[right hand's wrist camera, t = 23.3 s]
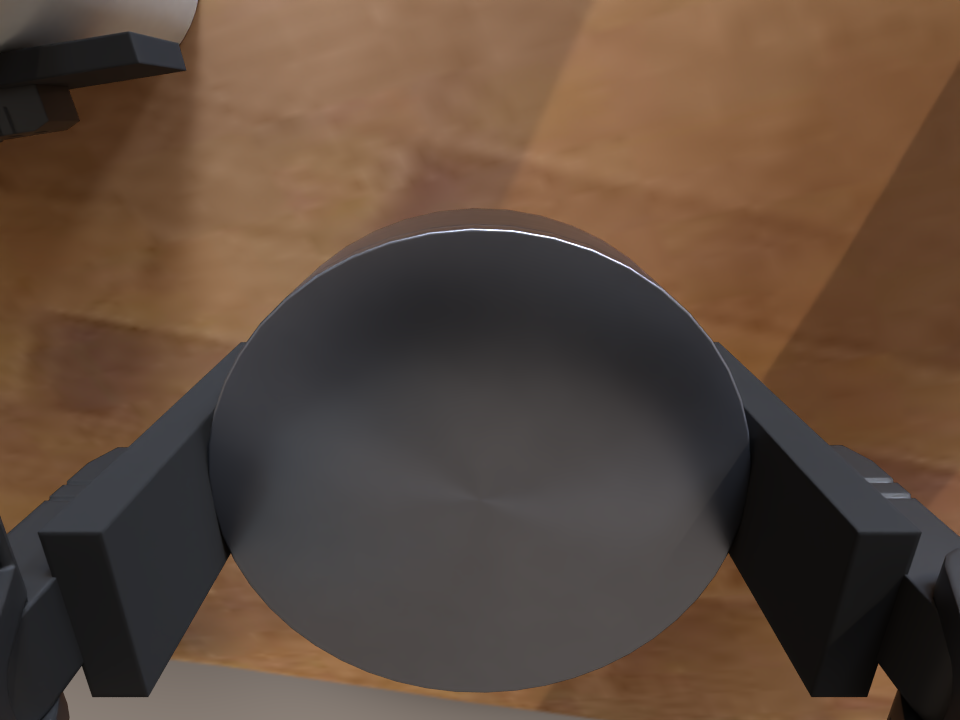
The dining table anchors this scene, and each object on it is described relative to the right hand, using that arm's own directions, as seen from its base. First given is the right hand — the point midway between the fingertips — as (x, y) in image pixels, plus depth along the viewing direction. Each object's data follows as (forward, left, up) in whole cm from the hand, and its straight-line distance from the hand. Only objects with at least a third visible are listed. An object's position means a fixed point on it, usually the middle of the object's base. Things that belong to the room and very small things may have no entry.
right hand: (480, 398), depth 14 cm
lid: (0, 0, +3) cm, 3 cm away
